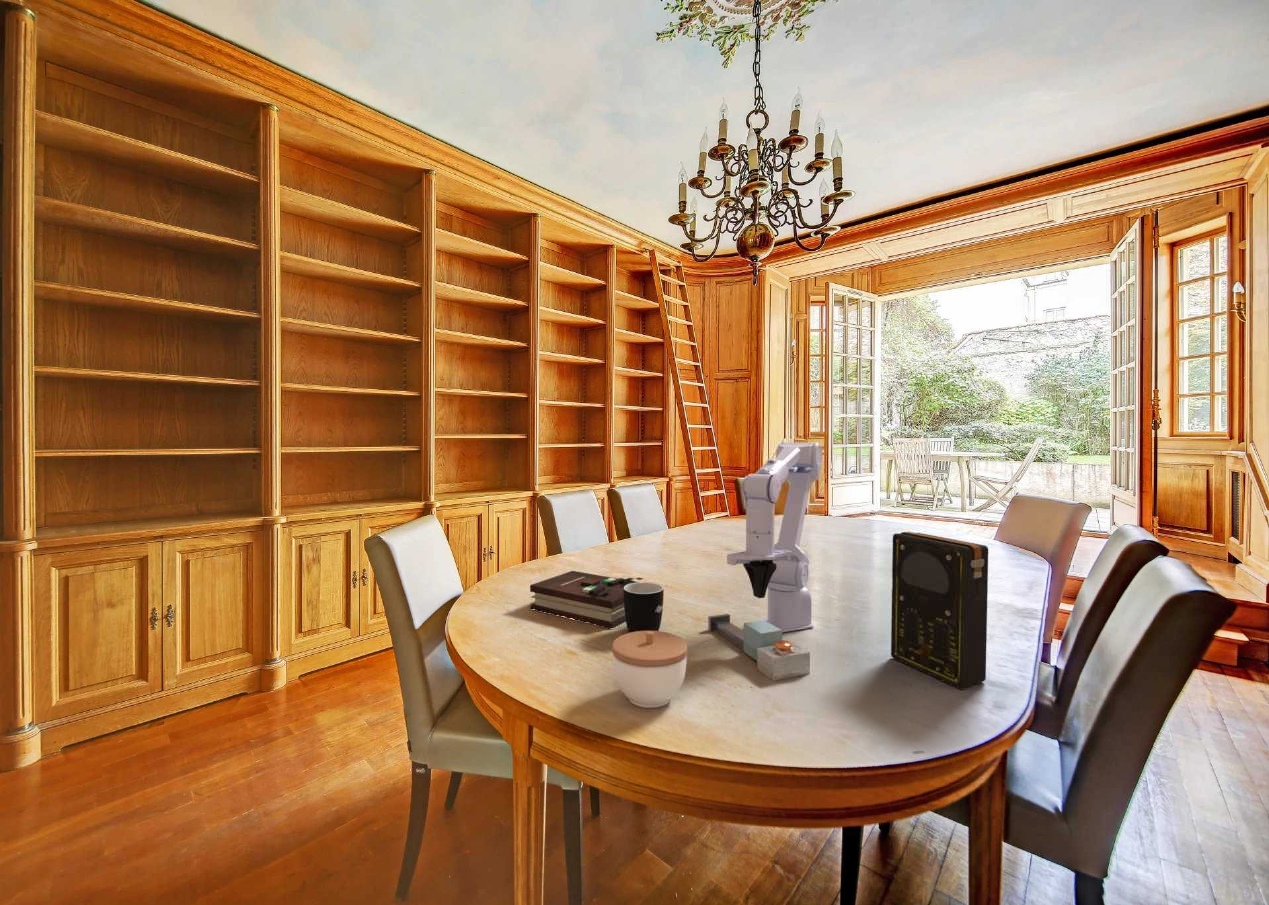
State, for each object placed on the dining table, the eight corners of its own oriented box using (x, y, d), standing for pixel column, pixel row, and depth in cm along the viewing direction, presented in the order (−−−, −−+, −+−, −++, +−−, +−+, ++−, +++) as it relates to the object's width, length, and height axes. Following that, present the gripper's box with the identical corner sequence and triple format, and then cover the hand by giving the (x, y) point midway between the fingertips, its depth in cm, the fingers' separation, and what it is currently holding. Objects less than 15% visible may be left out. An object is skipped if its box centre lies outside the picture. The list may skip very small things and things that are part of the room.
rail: (727, 626, 123) (727, 613, 123) (787, 665, 102) (787, 649, 102) (708, 629, 121) (708, 616, 121) (765, 669, 100) (765, 653, 100)
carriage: (763, 648, 109) (763, 620, 109) (781, 659, 104) (782, 630, 104) (743, 651, 108) (743, 623, 107) (760, 663, 102) (761, 633, 102)
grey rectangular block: (792, 662, 103) (792, 642, 103) (809, 673, 99) (809, 652, 98) (757, 669, 100) (757, 648, 100) (773, 680, 96) (773, 658, 96)
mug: (659, 641, 114) (659, 594, 114) (618, 638, 116) (618, 592, 116) (668, 622, 126) (668, 579, 125) (631, 619, 128) (631, 577, 127)
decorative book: (568, 565, 151) (660, 581, 135) (568, 592, 151) (660, 610, 135) (519, 581, 135) (617, 601, 119) (520, 611, 135) (617, 634, 119)
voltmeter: (885, 658, 105) (886, 532, 105) (916, 651, 109) (918, 529, 108) (960, 693, 91) (963, 547, 90) (993, 684, 94) (996, 543, 94)
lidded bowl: (611, 681, 96) (611, 620, 95) (680, 679, 96) (681, 618, 96) (613, 718, 83) (613, 648, 83) (693, 715, 84) (693, 646, 84)
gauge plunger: (785, 665, 102) (785, 639, 101) (795, 672, 99) (796, 645, 98) (770, 668, 100) (771, 641, 100) (781, 675, 97) (781, 647, 97)
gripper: (740, 536, 104) (739, 605, 105) (801, 532, 110) (800, 598, 110) (722, 531, 111) (721, 596, 111) (780, 527, 116) (779, 589, 117)
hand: (759, 596), depth 111 cm, fingers closed
